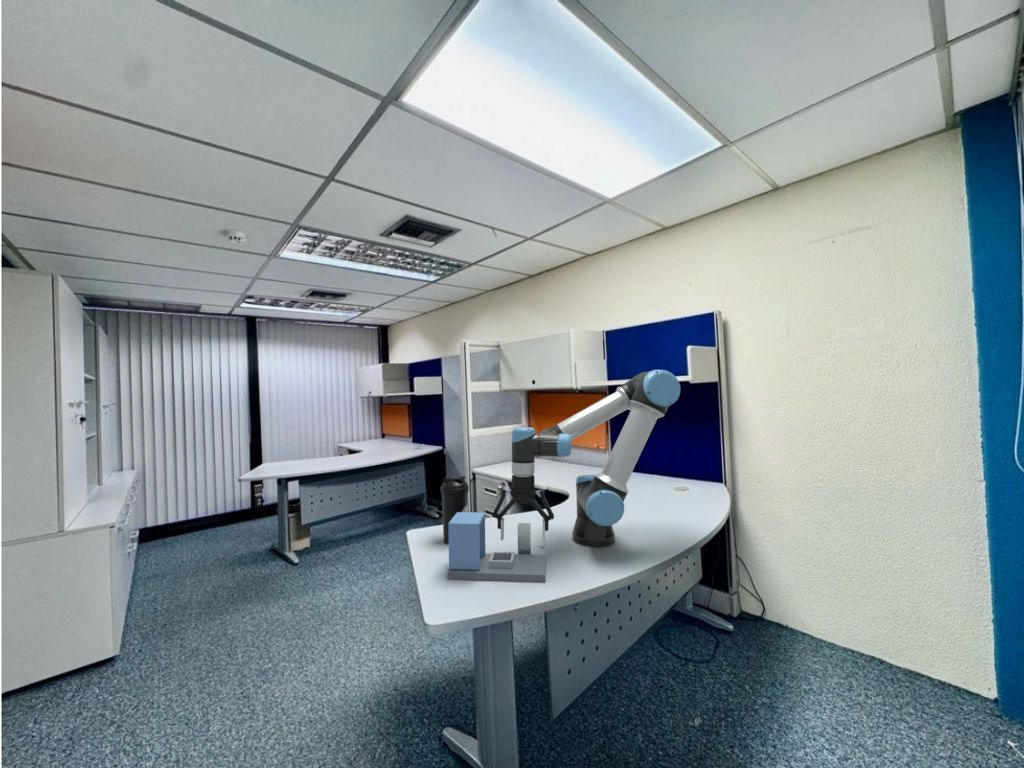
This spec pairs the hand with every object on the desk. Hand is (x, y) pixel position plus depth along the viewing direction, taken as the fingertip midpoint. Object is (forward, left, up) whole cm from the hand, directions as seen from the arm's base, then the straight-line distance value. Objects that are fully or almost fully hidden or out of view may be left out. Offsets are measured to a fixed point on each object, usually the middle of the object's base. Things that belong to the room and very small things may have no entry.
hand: (522, 539), depth 130 cm
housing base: (+7, +11, -5) cm, 14 cm away
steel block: (0, 0, -5) cm, 5 cm away
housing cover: (+16, +11, -3) cm, 20 cm away
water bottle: (+26, -12, -5) cm, 29 cm away
